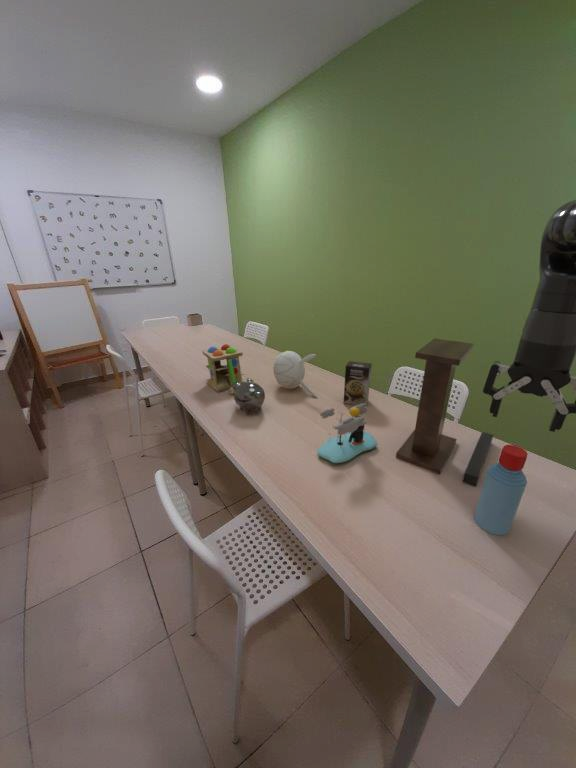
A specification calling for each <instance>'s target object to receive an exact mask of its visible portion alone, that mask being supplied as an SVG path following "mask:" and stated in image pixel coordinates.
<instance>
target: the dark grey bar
mask: <svg viewBox="0 0 576 768" xmlns="http://www.w3.org/2000/svg"><path fill="white" fill-rule="evenodd" d="M493 439H494V434H492V433H489V432H485V431H482V432H481V433H480V435H479V438H478V441H477V442H476V445H475V447H474V449H473V452H472V454H471V457H470V459H469V461H468V464H467V466H466V468H465V470H464V473H463V478H462V481H461V482H462V483H464V484H467V485H470V486H473V487H476V486H477V484H478V481H479V478H480V476H481V472H482V470H483V467H484V464H485V461H486V458H487V456H488V454H489V451H490V447H491V445H492V441H493Z"/></svg>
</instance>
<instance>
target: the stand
mask: <svg viewBox="0 0 576 768" xmlns="http://www.w3.org/2000/svg"><path fill="white" fill-rule="evenodd" d="M474 345H475V344H474V343H471V342H464V341H456V340H450V339H441V338H432V340H430V341H429V342H428V343H426V344H425V345H424V346H422V347H421V348H419V350H417V351H416V352H415V356H414V358H415V359H419V360H425V366H424V372H423V378H422V383H421V390H420V397H419V403H418V408H417V413H416V414H417V415H416V421H415V427H414V430H413V431H412V432H411V434H410V435H409V436H408V438H406V440H405V441H404V442H403V444H401V447H400V448H398V450H397V451H396V453H395V458H397V459H399V460H402V461H404V462H407V463H410V464H411V465H415V466H417V467H420V468H423V469H425V470H427V471H430V472H433V473H436V474H438V475H440V474H441V472H442V471H443V469H444V467H445V464H446V462H447V461H448V459H449V457H450V455H451V454H452V452H453V449H454V447H455V446H456V443H457V438H454V437H451V436H448V435H444V434H443V431H444V425H445V421H446V417H447V413H448V412H447V411H448V407H449V406H448V405H449V403H450V402H449V401H450V398H451V397H450V396H451V393H452V392H451V391H452V389H453V383H454V378H455V373H456V369H457V366H460V365H461V364H462V363H463V361H464V360H465V359H466V358H467V357H468V356H469V354H470V353H471V352H472V351H473V349H474Z"/></svg>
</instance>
